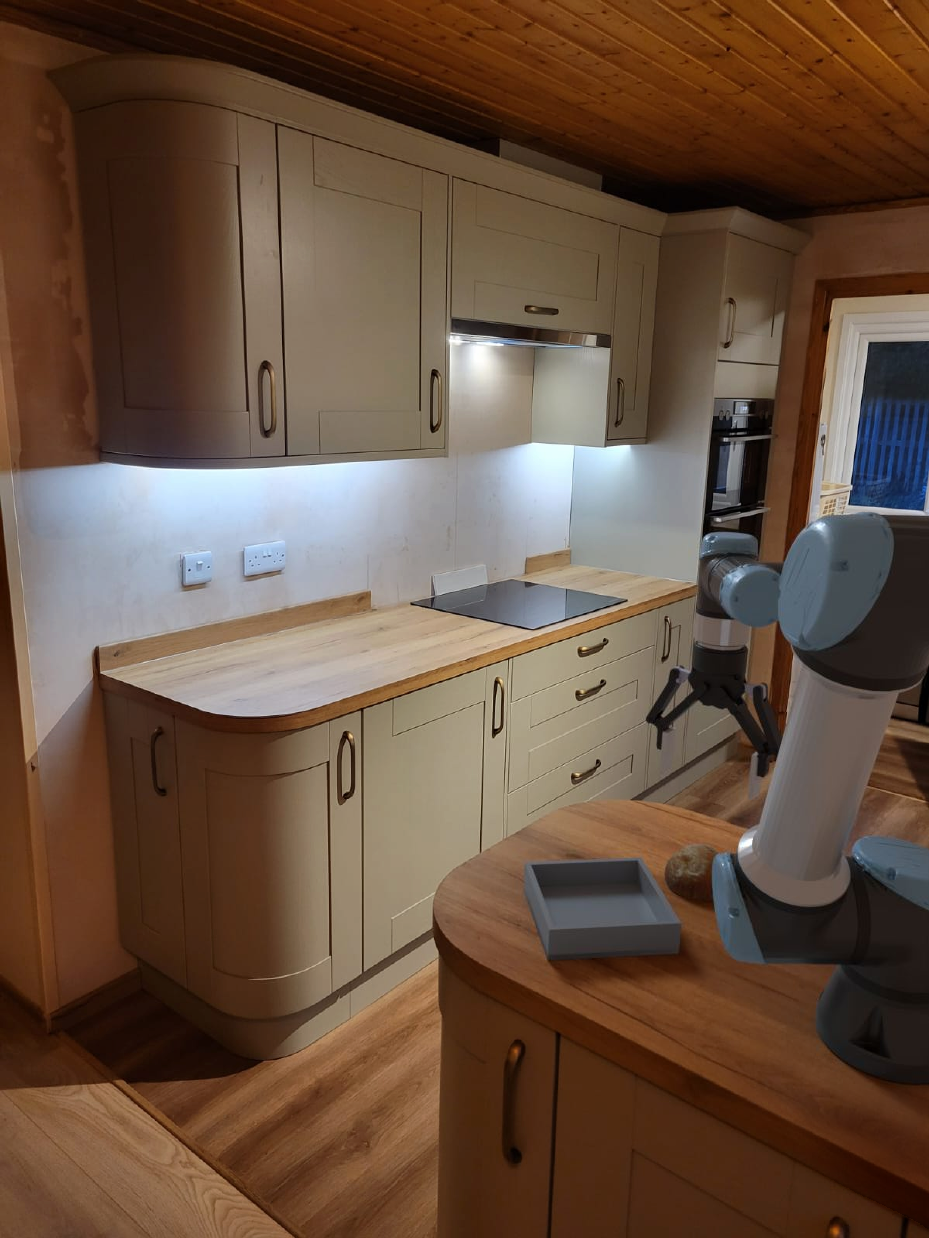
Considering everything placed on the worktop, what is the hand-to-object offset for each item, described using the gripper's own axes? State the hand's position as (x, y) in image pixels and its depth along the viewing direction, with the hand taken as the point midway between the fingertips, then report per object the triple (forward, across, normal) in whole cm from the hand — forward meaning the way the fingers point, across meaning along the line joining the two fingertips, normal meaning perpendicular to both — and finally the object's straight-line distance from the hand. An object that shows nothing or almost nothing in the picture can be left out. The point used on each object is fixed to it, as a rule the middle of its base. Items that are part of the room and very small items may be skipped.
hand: (708, 783), depth 137 cm
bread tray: (+16, +7, +18) cm, 26 cm away
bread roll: (+17, 0, 0) cm, 17 cm away
